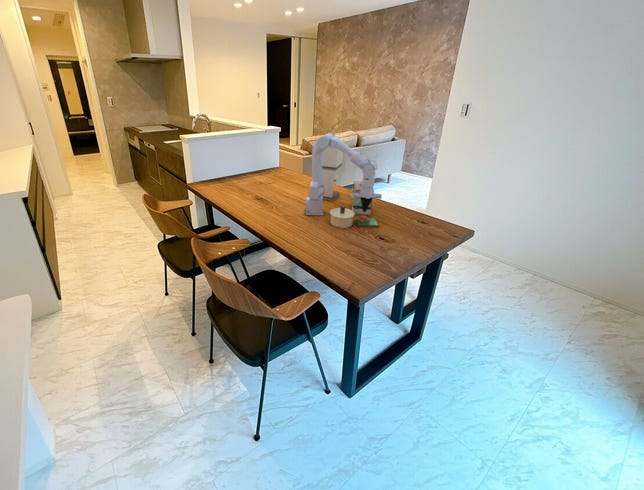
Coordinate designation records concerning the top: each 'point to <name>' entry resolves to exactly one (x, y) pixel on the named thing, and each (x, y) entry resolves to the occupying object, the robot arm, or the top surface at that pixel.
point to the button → (363, 217)
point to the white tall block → (330, 171)
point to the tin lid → (342, 213)
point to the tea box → (359, 200)
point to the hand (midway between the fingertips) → (364, 211)
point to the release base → (366, 222)
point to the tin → (341, 222)
